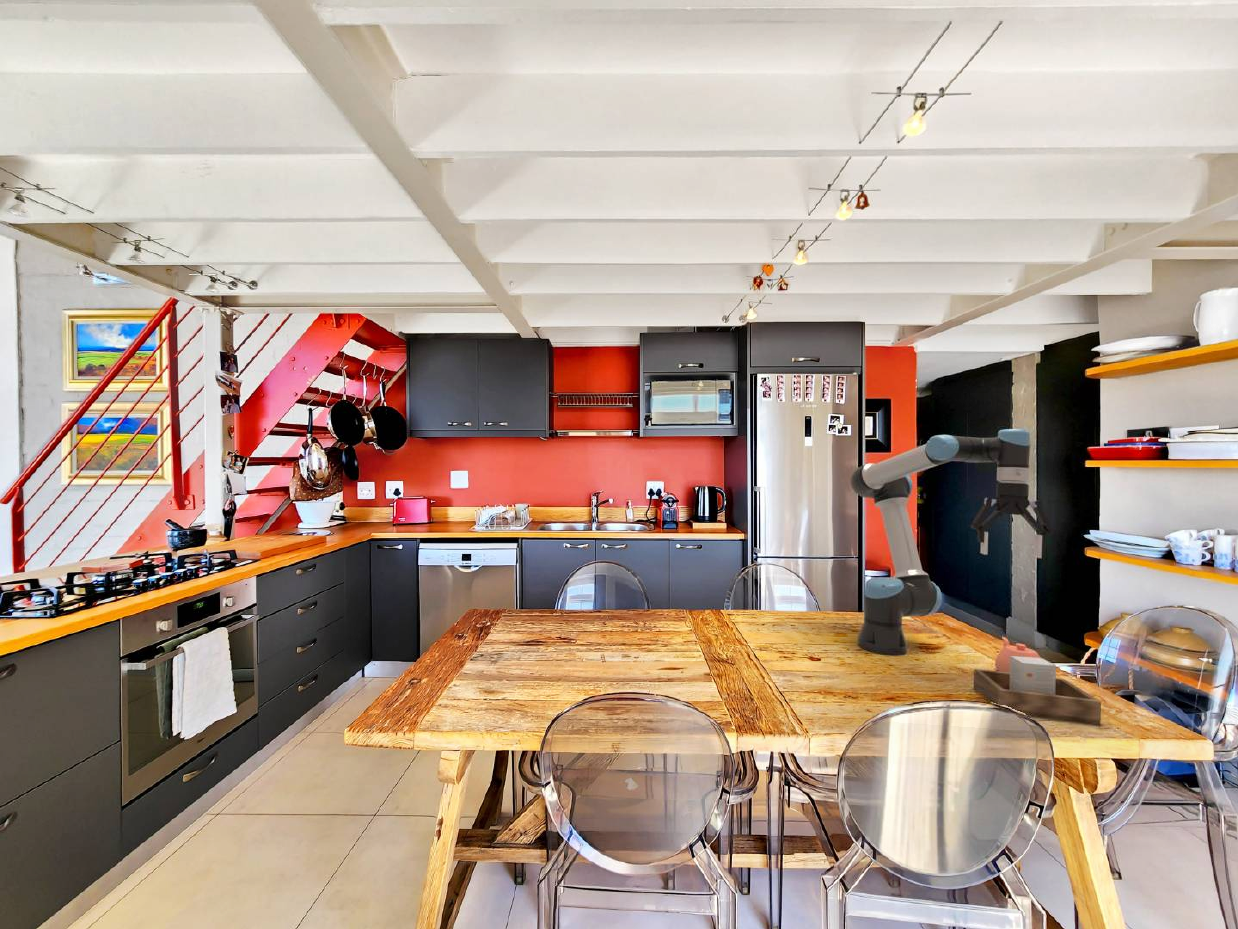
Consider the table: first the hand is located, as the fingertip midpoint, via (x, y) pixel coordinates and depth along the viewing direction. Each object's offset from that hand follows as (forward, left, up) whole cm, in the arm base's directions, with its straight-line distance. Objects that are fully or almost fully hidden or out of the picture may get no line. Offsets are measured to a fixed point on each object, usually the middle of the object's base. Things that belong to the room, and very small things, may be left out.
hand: (1010, 555), depth 154 cm
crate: (-1, -16, -37) cm, 40 cm away
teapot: (+7, +9, -37) cm, 39 cm away
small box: (-1, -16, -36) cm, 39 cm away
